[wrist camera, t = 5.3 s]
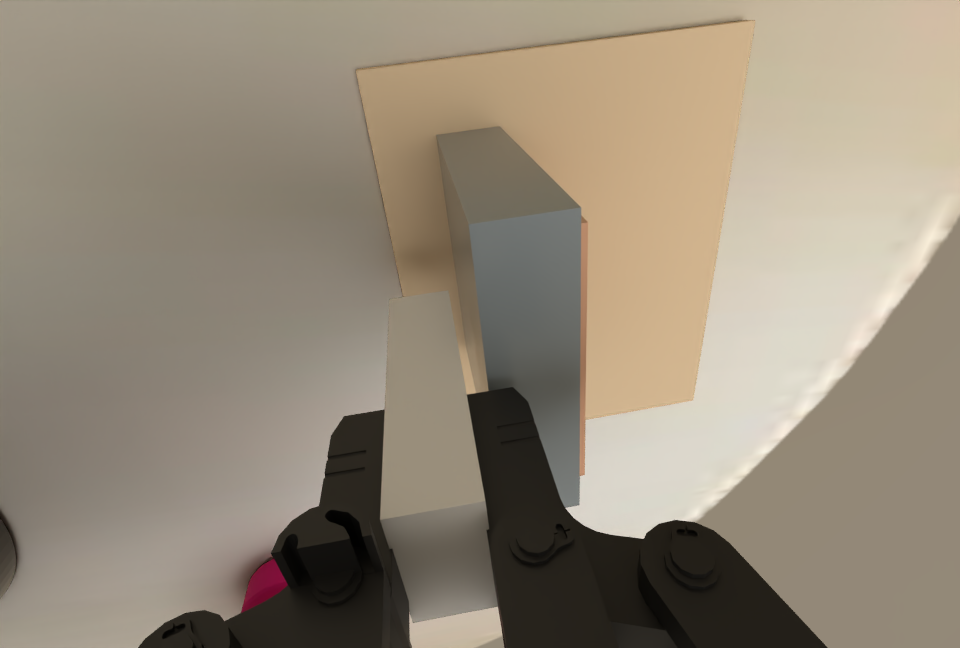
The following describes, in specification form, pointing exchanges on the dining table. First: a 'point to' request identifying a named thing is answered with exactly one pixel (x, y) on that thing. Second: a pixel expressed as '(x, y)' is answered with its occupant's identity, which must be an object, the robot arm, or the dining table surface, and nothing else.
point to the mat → (585, 182)
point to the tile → (521, 287)
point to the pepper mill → (264, 585)
